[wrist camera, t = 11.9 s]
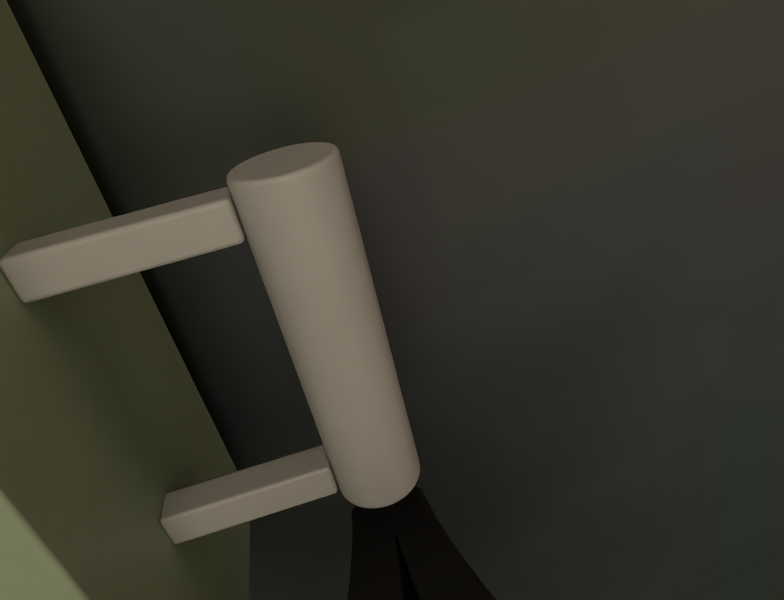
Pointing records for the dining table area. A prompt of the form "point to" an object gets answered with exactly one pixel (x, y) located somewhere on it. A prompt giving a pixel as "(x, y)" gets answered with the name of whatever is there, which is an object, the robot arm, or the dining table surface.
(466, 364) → the dining table surface
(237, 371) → the dining table surface
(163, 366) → the drawer
